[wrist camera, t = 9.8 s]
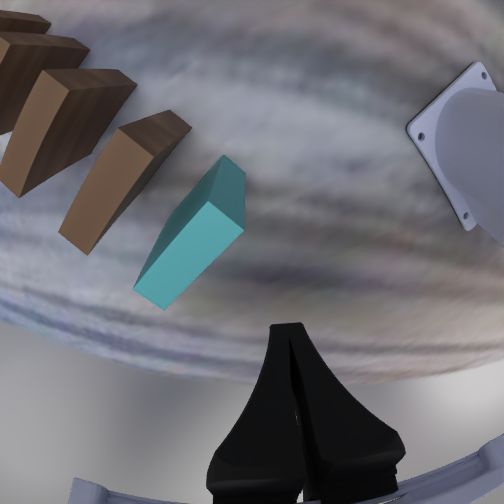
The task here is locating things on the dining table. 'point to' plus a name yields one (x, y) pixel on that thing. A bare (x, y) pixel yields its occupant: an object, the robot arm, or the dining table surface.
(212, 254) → the teal tile
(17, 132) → the walnut tile
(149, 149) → the walnut tile
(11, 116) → the walnut tile
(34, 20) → the walnut tile
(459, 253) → the dining table surface
